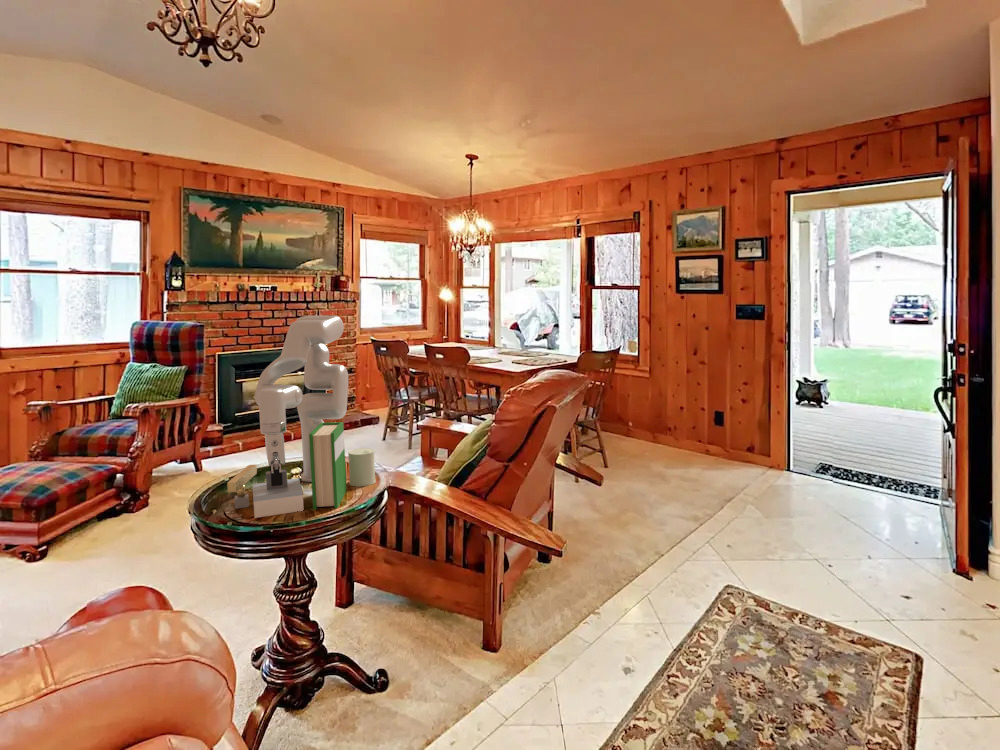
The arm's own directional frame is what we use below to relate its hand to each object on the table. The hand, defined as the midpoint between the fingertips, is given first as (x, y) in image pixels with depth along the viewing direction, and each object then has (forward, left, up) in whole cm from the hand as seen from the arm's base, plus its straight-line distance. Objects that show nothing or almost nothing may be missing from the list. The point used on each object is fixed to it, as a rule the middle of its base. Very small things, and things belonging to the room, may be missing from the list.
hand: (276, 481), depth 177 cm
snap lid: (0, 0, -4) cm, 4 cm away
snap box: (+3, -1, -9) cm, 9 cm away
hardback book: (-16, 0, -9) cm, 18 cm away
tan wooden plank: (+10, -9, -5) cm, 14 cm away
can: (-29, -14, -9) cm, 34 cm away
